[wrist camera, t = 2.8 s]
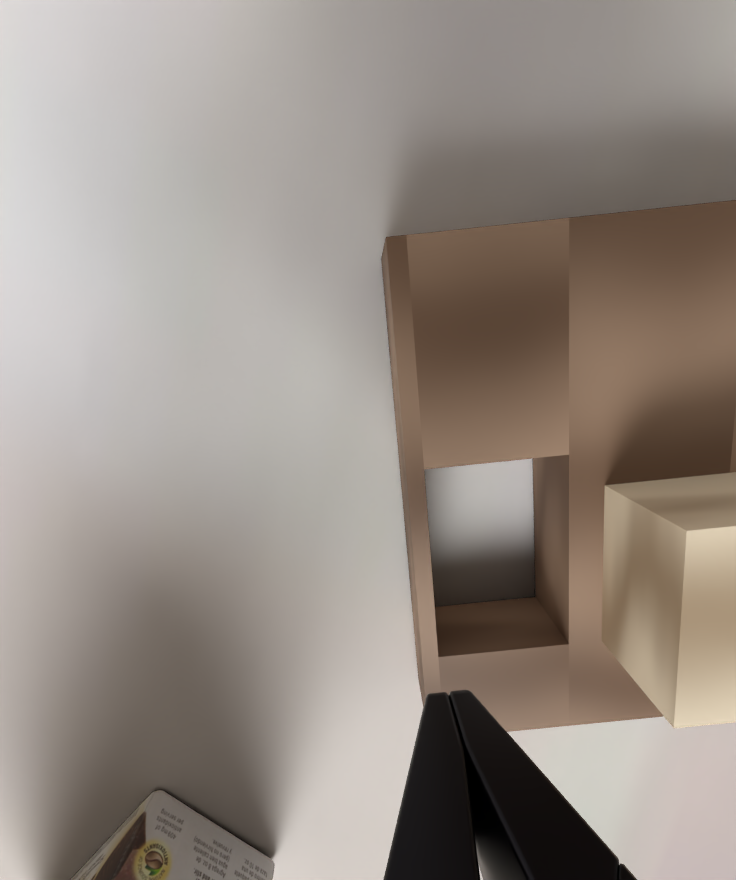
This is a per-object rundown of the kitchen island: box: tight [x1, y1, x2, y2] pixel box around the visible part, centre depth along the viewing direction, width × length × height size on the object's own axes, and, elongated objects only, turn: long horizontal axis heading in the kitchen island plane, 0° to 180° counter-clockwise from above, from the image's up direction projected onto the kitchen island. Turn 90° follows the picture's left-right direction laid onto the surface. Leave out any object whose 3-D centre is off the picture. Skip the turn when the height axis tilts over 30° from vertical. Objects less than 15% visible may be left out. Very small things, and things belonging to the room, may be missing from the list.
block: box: [602, 472, 736, 728], centre depth 11 cm, size 5×5×3 cm
